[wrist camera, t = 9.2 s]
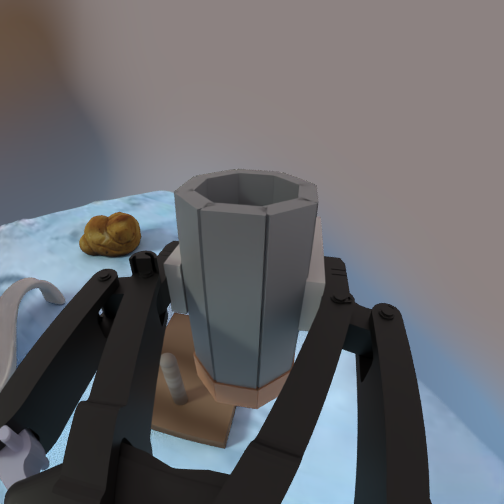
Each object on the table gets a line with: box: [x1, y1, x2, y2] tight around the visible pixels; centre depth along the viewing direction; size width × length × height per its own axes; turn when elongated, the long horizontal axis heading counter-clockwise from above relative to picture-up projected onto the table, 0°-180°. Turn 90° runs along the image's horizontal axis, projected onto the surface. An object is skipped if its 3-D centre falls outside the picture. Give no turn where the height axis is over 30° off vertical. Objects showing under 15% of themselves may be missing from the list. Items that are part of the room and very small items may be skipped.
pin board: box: [151, 313, 236, 449], centre depth 26 cm, size 15×10×8 cm, turn 170°
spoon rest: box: [0, 278, 65, 392], centre depth 25 cm, size 24×12×7 cm, turn 175°
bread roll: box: [79, 212, 141, 257], centre depth 49 cm, size 13×10×8 cm
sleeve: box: [174, 169, 318, 409], centre depth 14 cm, size 5×5×11 cm
